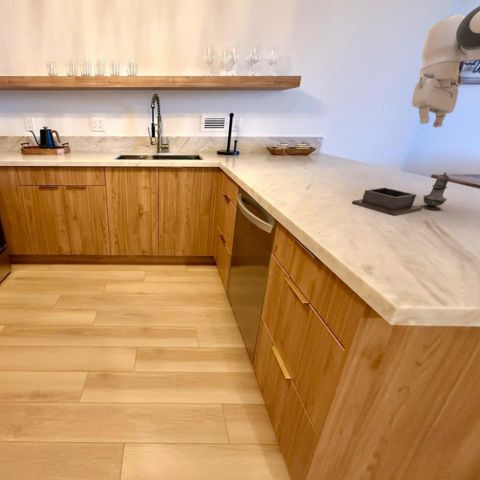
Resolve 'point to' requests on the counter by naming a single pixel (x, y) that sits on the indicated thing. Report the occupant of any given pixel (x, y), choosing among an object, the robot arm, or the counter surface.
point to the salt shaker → (436, 194)
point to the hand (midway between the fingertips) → (430, 125)
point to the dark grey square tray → (388, 201)
